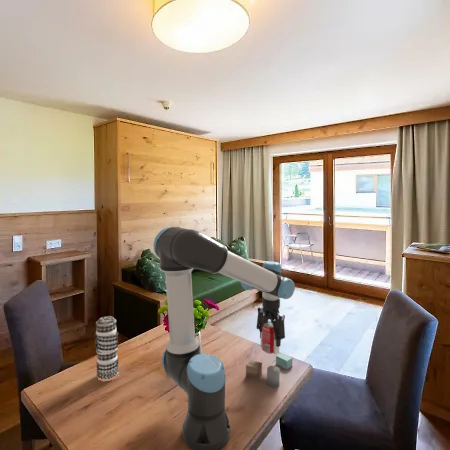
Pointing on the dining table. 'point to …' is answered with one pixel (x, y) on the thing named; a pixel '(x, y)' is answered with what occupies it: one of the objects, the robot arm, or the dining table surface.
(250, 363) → the tan block
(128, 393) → the dining table surface
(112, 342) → the decorative candle
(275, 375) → the grey capsule
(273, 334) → the soda can
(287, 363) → the teal block
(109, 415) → the dining table surface
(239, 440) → the dining table surface
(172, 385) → the dining table surface
